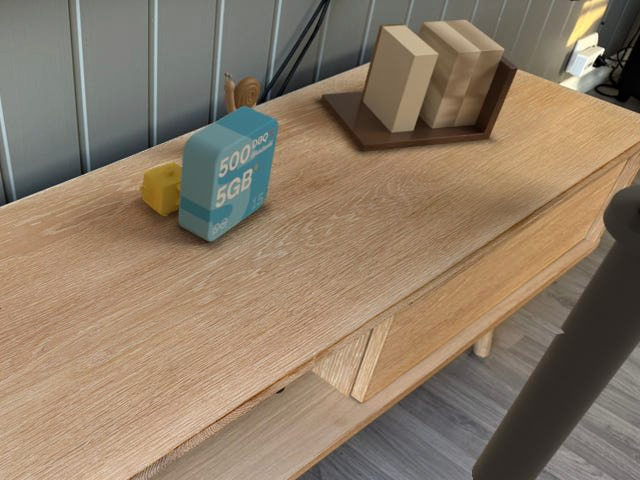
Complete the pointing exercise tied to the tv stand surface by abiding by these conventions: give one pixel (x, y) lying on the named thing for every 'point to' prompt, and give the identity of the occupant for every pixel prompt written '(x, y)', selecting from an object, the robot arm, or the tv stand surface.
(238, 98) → the snail figurine
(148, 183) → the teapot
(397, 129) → the cream book
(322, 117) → the tv stand surface
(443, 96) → the book rack
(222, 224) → the data package
